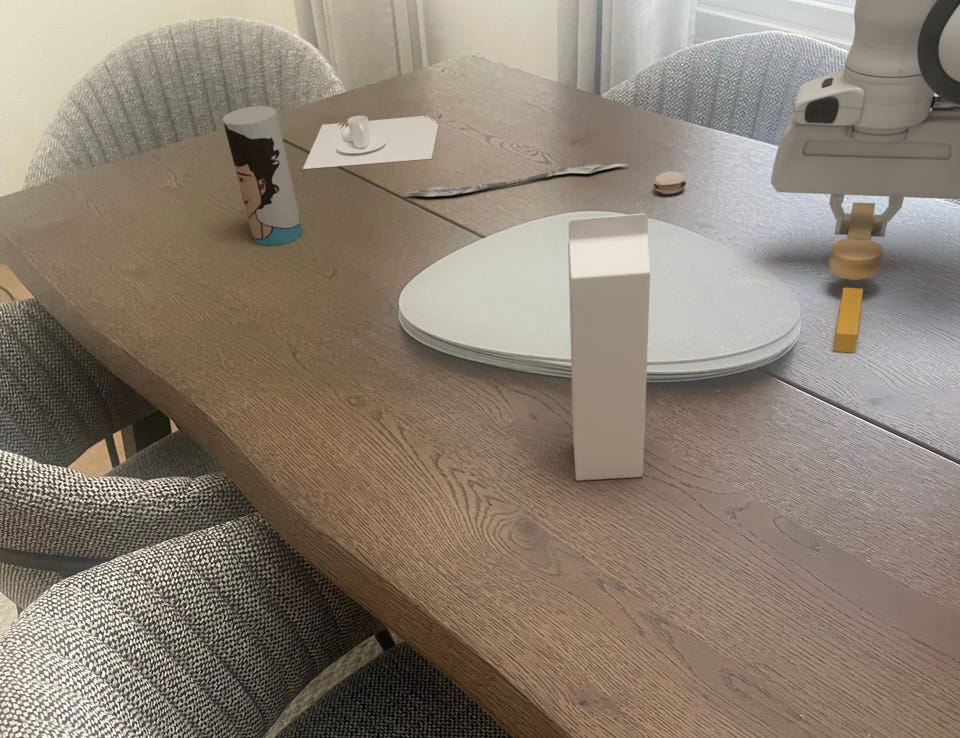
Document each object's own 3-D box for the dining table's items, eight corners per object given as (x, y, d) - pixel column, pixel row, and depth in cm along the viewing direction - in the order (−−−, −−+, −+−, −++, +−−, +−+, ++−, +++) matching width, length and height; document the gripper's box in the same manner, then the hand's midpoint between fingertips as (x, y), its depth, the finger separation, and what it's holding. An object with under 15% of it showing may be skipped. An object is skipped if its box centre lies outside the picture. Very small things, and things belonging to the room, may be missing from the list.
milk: (573, 444, 91) (565, 203, 75) (638, 439, 90) (644, 196, 75) (575, 482, 86) (568, 235, 71) (644, 478, 86) (652, 229, 70)
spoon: (836, 220, 113) (840, 201, 111) (884, 223, 112) (888, 203, 110) (826, 278, 103) (829, 258, 102) (877, 281, 102) (882, 261, 100)
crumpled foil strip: (403, 194, 137) (408, 207, 133) (402, 190, 136) (407, 202, 133) (620, 156, 140) (631, 168, 136) (620, 152, 139) (631, 164, 136)
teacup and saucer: (341, 138, 156) (336, 111, 153) (389, 134, 156) (385, 106, 153) (333, 158, 150) (327, 130, 147) (383, 154, 149) (379, 125, 147)
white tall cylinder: (270, 222, 135) (242, 104, 124) (311, 226, 132) (286, 107, 122) (243, 243, 130) (211, 123, 120) (285, 247, 128) (257, 125, 117)
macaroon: (658, 199, 128) (659, 180, 126) (646, 186, 132) (647, 167, 130) (689, 194, 128) (690, 174, 127) (676, 181, 132) (677, 161, 130)
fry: (853, 353, 97) (857, 334, 96) (833, 351, 98) (836, 333, 96) (859, 306, 104) (863, 288, 102) (840, 304, 104) (843, 287, 103)
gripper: (998, 86, 96) (960, 226, 106) (785, 84, 102) (768, 217, 111) (1000, 108, 92) (961, 251, 102) (779, 105, 97) (761, 241, 107)
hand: (859, 233), depth 107 cm, fingers closed on spoon, 2 cm apart
